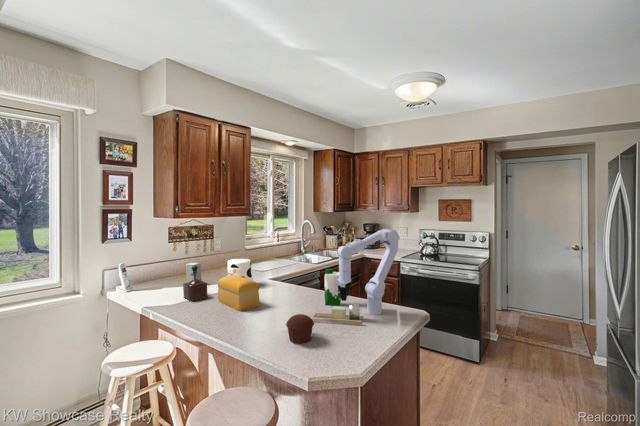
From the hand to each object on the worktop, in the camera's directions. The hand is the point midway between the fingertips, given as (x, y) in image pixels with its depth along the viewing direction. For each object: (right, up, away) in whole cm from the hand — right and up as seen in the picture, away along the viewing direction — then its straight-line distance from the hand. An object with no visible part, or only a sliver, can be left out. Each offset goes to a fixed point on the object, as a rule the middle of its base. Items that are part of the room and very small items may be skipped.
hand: (344, 298), depth 156 cm
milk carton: (-5, -10, +20) cm, 23 cm away
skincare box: (-99, -9, +63) cm, 118 cm away
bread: (-58, -10, +24) cm, 64 cm away
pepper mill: (-88, -10, +36) cm, 96 cm away
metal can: (+4, -9, -5) cm, 11 cm away
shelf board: (-4, -10, -4) cm, 11 cm away
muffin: (-20, -11, -24) cm, 33 cm away
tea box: (-3, -9, -6) cm, 11 cm away
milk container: (-67, -9, +60) cm, 91 cm away
